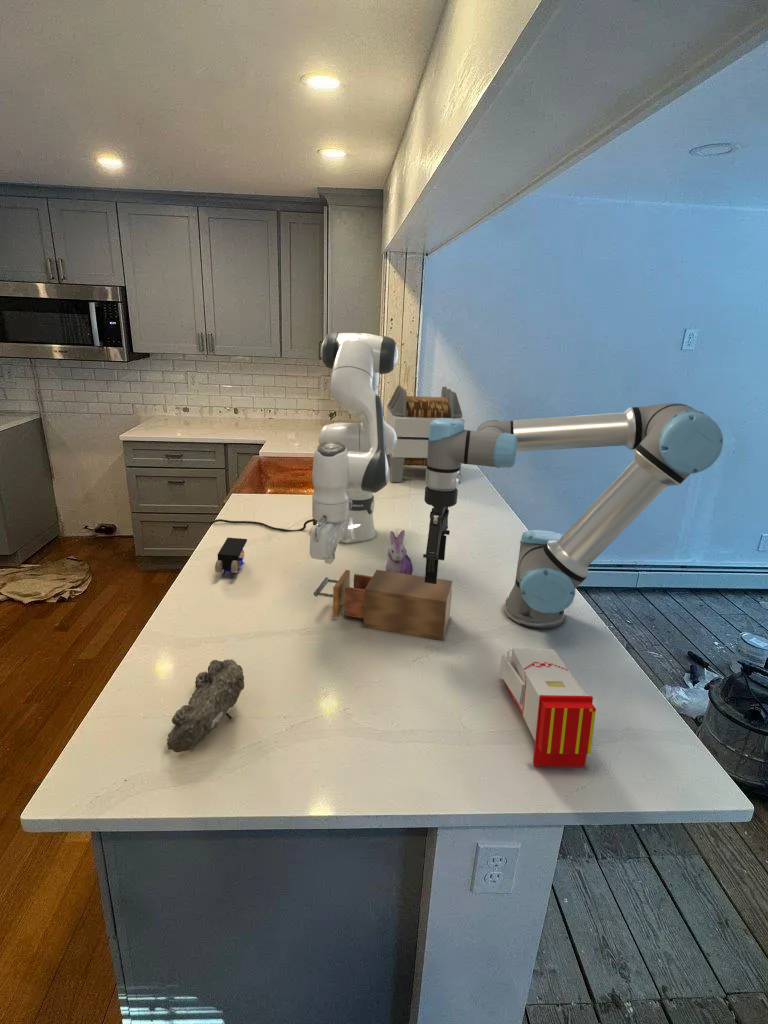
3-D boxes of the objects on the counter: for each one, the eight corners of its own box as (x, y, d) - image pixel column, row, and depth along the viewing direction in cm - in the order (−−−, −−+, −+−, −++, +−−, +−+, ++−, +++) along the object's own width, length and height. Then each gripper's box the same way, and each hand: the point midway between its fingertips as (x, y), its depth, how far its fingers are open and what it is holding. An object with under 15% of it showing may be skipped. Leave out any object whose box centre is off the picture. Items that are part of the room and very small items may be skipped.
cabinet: (363, 627, 141) (364, 589, 137) (375, 605, 151) (376, 569, 148) (443, 640, 137) (446, 601, 133) (449, 617, 147) (452, 580, 143)
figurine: (392, 589, 160) (394, 540, 155) (375, 574, 168) (377, 527, 163) (420, 583, 164) (424, 535, 159) (403, 569, 172) (406, 523, 167)
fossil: (192, 660, 117) (244, 628, 112) (224, 691, 120) (276, 661, 115) (142, 746, 98) (202, 712, 93) (182, 779, 101) (242, 748, 96)
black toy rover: (238, 584, 162) (249, 557, 175) (236, 562, 158) (247, 536, 172) (215, 584, 161) (227, 556, 175) (212, 561, 158) (225, 535, 171)
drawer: (312, 613, 144) (312, 583, 141) (325, 595, 153) (325, 566, 150) (405, 629, 139) (407, 598, 136) (413, 609, 148) (415, 579, 145)
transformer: (382, 463, 289) (386, 382, 275) (445, 464, 293) (451, 384, 279) (390, 482, 257) (394, 392, 243) (460, 483, 261) (468, 394, 247)
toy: (549, 630, 124) (606, 704, 95) (544, 686, 127) (597, 774, 98) (495, 629, 124) (534, 703, 95) (490, 685, 127) (527, 774, 97)
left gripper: (329, 526, 128) (328, 581, 133) (354, 499, 147) (352, 548, 152) (302, 522, 130) (303, 577, 134) (331, 496, 148) (330, 545, 153)
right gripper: (451, 505, 118) (443, 596, 125) (463, 474, 141) (456, 552, 148) (415, 501, 119) (410, 591, 127) (433, 471, 142) (427, 548, 150)
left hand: (329, 561), depth 143 cm, fingers closed
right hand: (434, 570), depth 137 cm, fingers open, 13 cm apart
